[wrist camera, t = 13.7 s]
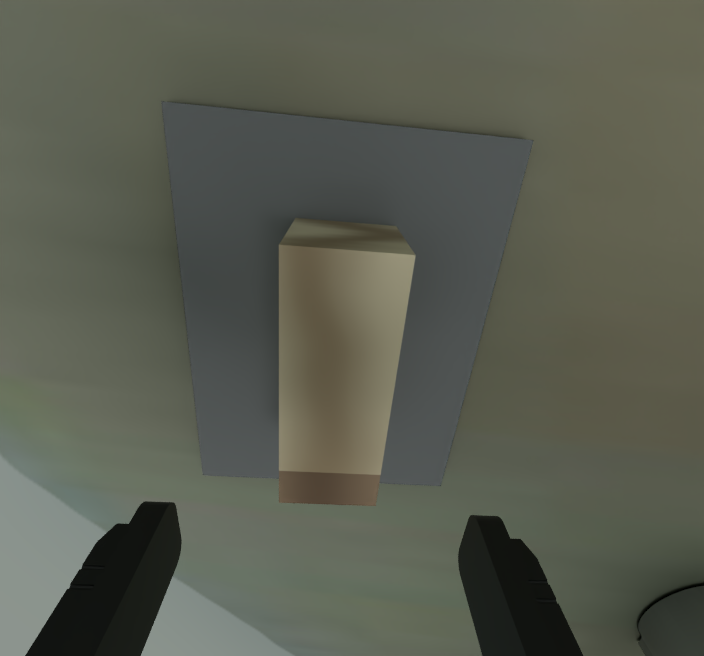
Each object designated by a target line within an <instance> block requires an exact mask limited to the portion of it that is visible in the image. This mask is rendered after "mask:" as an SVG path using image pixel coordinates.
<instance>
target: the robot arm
mask: <svg viewBox="0 0 704 656" xmlns="http://www.w3.org/2000/svg"><path fill="white" fill-rule="evenodd" d="M180 551H181V534H180V528H179V522H178V516H177V509H176V505H175V503H172V502H143V503H142V504H141V505H140V506H139V508H138V509H137V511H136V513H135V514H134V516H133V518H132V520H131V521H130V523H129V524H116V525H115V526H114V527H113V528H112V529H111V530H109V531H108V532H107V533H106V534H105V535H104V536H103V537H102V538H101V539H100V540H99V541H98V542H97V543H96V544H95V546H94V547H93V549H92V550H91V552H90V554H89V555H88V557H87V558H86V560H85V562H84V563H83V566H82V569H81V570H79V571H78V573H77V574H76V576H75V578H74V579H73V581H72V582H71V584H70V588H69V589H67V590H66V592H65V593H64V595H63V597H62V598H61V600H60V602H59V603H58V605H57V606H56V608H55V609H54V611H53V613H52V614H51V616H50V617H49V619H48V620H47V622H46V624H45V625H44V627H43V628H42V630H41V632H40V633H39V635H38V637H37V638H36V640H35V641H34V643H33V644H32V646H31V648H30V649H29V651H28V653H27V654H26V655H25V656H141V653H142V651H143V648H144V646H145V643H146V641H147V638H148V636H149V633H150V631H151V628H152V626H153V624H154V621H155V619H156V616H157V614H158V611H159V608H160V606H161V603H162V601H163V599H164V596H165V593H166V591H167V589H168V586H169V584H170V581H171V579H172V576H173V574H174V571H175V569H176V566H177V563H178V560H179V556H180ZM458 563H459V571H460V576H461V579H462V583H463V587H464V590H465V594H466V597H467V601H468V605H469V608H470V612H471V616H472V619H473V623H474V626H475V630H476V634H477V637H478V641H479V645H480V648H481V652H482V655H483V656H583V654H582V652H581V650H580V648H579V646H578V644H577V641H576V639H575V637H574V635H573V633H572V631H571V629H570V627H569V625H568V623H567V620H566V618H565V616H564V614H563V612H562V610H561V608H560V606H559V604H557V602H556V597H555V595H554V593H553V591H552V589H551V587H550V585H548V583H547V578H546V576H545V574H544V572H543V570H542V568H541V566H540V564H539V562H538V559H537V558H536V557H535V555H534V554H533V553H532V552H531V551H530V550H529V548H528V547H527V546H526V545H525V544H524V543H523V541H522V540H521V539H510V537H509V535H508V532H507V530H506V528H505V525H504V523H503V521H502V520H501V518H500V517H498V516H478V515H471V516H470V517H469V519H468V522H467V526H466V529H465V532H464V535H463V538H462V542H461V545H460V548H459V554H458ZM638 630H639V632H640V634H641V640H640V641H639V642H638V644H639V645H640V647H641V649H642V650H643V652H644V654H645V655H646V656H704V586H699V587H694V588H690V589H686V590H683V591H680V592H678V593H675V594H672V595H670V596H668V597H666V598H664V599H662V600H660V601H659V602H657V603H656V604H654V605H653V606H652V607H650V608H649V609H648V610H647V611H646V612H645V613H644V615H643V616H642V617H641V619H640V622H639V624H638Z"/></svg>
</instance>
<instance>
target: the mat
mask: <svg viewBox="0 0 704 656" xmlns="http://www.w3.org/2000/svg"><path fill="white" fill-rule="evenodd" d="M161 102H162V111H163V120H164V129H165V138H166V147H167V156H168V165H169V174H170V183H171V192H172V201H173V210H174V219H175V228H176V237H177V246H178V255H179V264H180V273H181V282H182V291H183V300H184V309H185V318H186V327H187V336H188V345H189V354H190V363H191V372H192V381H193V390H194V399H195V408H196V417H197V426H198V435H199V444H200V453H201V462H202V471H203V475H210V476H232V477H254V478H276V479H279V244H280V242H281V241H282V239H283V237H284V236H285V234H286V233H287V231H288V229H289V228H290V226H291V225H292V223H293V221H294V220H295V218H303V219H315V220H328V221H340V222H352V223H365V224H377V225H389V226H396V227H397V228H398V230H399V231H400V233H401V234H402V236H403V237H404V239H405V240H406V242H407V243H408V245H409V246H410V248H411V249H412V250H413V252H414V253H415V255H416V256H415V263H414V269H413V275H412V281H411V288H410V294H409V300H408V306H407V313H406V319H405V325H404V331H403V338H402V344H401V350H400V356H399V363H398V369H397V375H396V381H395V388H394V394H393V400H392V406H391V413H390V419H389V425H388V431H387V438H386V444H385V450H384V456H383V463H382V469H381V475H380V482H379V483H386V484H408V485H430V486H441V483H442V479H443V475H444V472H445V468H446V464H447V460H448V457H449V453H450V449H451V446H452V442H453V438H454V434H455V431H456V427H457V423H458V419H459V416H460V412H461V408H462V405H463V401H464V397H465V393H466V390H467V386H468V382H469V379H470V375H471V371H472V367H473V364H474V360H475V356H476V352H477V349H478V345H479V341H480V338H481V334H482V330H483V326H484V323H485V319H486V315H487V311H488V308H489V304H490V300H491V297H492V293H493V289H494V285H495V282H496V278H497V274H498V271H499V267H500V263H501V259H502V256H503V252H504V248H505V244H506V241H507V237H508V233H509V230H510V226H511V222H512V218H513V215H514V211H515V207H516V204H517V200H518V196H519V192H520V189H521V185H522V181H523V177H524V174H525V170H526V166H527V163H528V159H529V155H530V151H531V148H532V144H533V140H526V139H516V138H507V137H497V136H488V135H478V134H469V133H459V132H450V131H440V130H431V129H421V128H412V127H402V126H392V125H383V124H373V123H364V122H354V121H345V120H335V119H326V118H316V117H307V116H297V115H288V114H278V113H269V112H259V111H249V110H240V109H230V108H221V107H211V106H202V105H192V104H183V103H173V102H164V101H161Z"/></svg>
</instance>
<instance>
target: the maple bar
mask: <svg viewBox="0 0 704 656" xmlns="http://www.w3.org/2000/svg"><path fill="white" fill-rule="evenodd" d="M415 256H416V255H415V253H414V252H413V250H412V249H411V248H410V246H409V245H408V243H407V242H406V240H405V239H404V237H403V236H402V234H401V233H400V231H399V230H398V228H397V227H396V226H389V225H377V224H365V223H352V222H340V221H328V220H315V219H303V218H295V220H294V221H293V223H292V225H291V226H290V228H289V229H288V231H287V233H286V234H285V236H284V237H283V239H282V241H281V242H280V244H279V502H280V503H308V504H335V505H362V506H376V500H377V494H378V488H379V482H380V475H381V469H382V463H383V456H384V450H385V444H386V438H387V431H388V425H389V419H390V413H391V406H392V400H393V394H394V388H395V381H396V375H397V369H398V363H399V356H400V350H401V344H402V338H403V331H404V325H405V319H406V313H407V306H408V300H409V294H410V288H411V281H412V275H413V269H414V263H415Z"/></svg>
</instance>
